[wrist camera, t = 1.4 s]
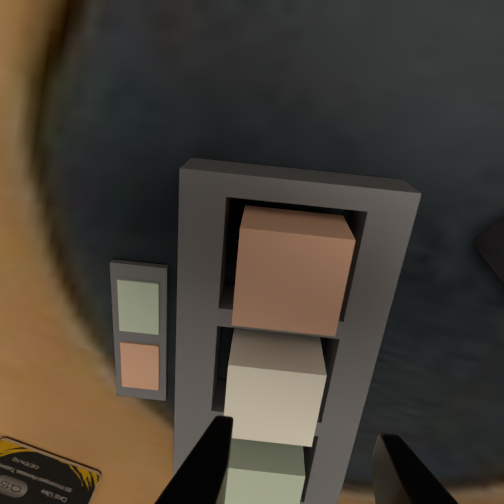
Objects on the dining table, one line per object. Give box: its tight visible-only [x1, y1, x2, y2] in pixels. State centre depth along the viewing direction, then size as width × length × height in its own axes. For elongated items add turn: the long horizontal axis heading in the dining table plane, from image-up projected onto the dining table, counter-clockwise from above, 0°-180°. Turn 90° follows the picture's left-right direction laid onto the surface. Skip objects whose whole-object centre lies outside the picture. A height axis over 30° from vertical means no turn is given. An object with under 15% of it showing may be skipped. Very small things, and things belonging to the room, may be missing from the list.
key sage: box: [225, 438, 305, 504], centre depth 23 cm, size 4×4×3 cm
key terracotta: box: [232, 205, 356, 336], centre depth 17 cm, size 4×4×3 cm
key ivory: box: [224, 328, 327, 447], centre depth 20 cm, size 4×4×3 cm
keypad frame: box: [173, 158, 421, 504], centre depth 22 cm, size 20×10×2 cm, turn 175°
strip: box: [110, 259, 169, 401], centre depth 23 cm, size 9×3×1 cm, turn 175°
